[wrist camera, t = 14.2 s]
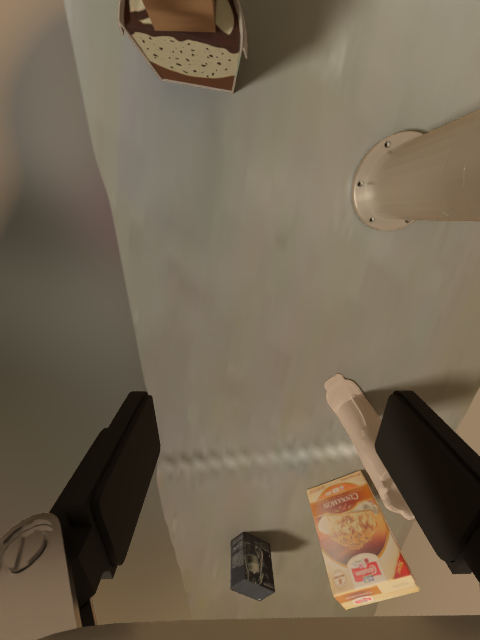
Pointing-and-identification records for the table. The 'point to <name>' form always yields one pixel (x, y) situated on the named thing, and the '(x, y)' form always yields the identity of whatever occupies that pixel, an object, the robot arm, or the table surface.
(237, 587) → the box
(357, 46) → the table surface
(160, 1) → the walnut block
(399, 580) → the coffeecake box
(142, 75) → the table surface
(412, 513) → the robot arm
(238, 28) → the food container
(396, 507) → the candle
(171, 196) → the table surface
